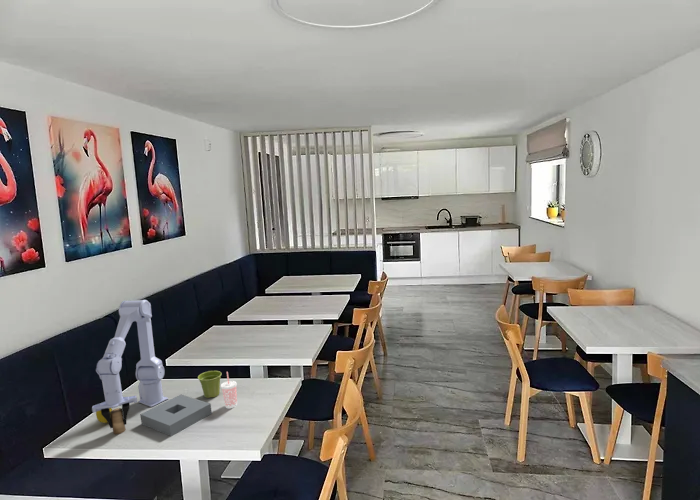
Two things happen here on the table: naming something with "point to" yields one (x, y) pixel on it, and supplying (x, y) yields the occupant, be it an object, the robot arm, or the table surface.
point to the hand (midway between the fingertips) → (118, 425)
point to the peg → (117, 421)
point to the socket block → (175, 414)
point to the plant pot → (210, 383)
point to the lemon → (100, 417)
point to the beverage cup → (229, 393)
